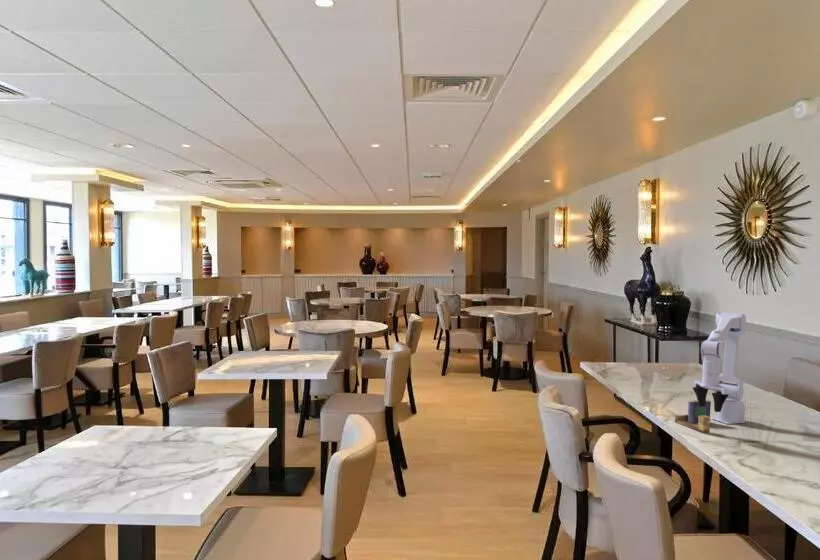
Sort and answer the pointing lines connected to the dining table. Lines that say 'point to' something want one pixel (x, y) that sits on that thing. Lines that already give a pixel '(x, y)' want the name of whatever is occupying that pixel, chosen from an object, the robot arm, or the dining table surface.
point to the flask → (697, 410)
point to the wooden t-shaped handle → (702, 424)
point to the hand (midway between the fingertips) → (709, 408)
